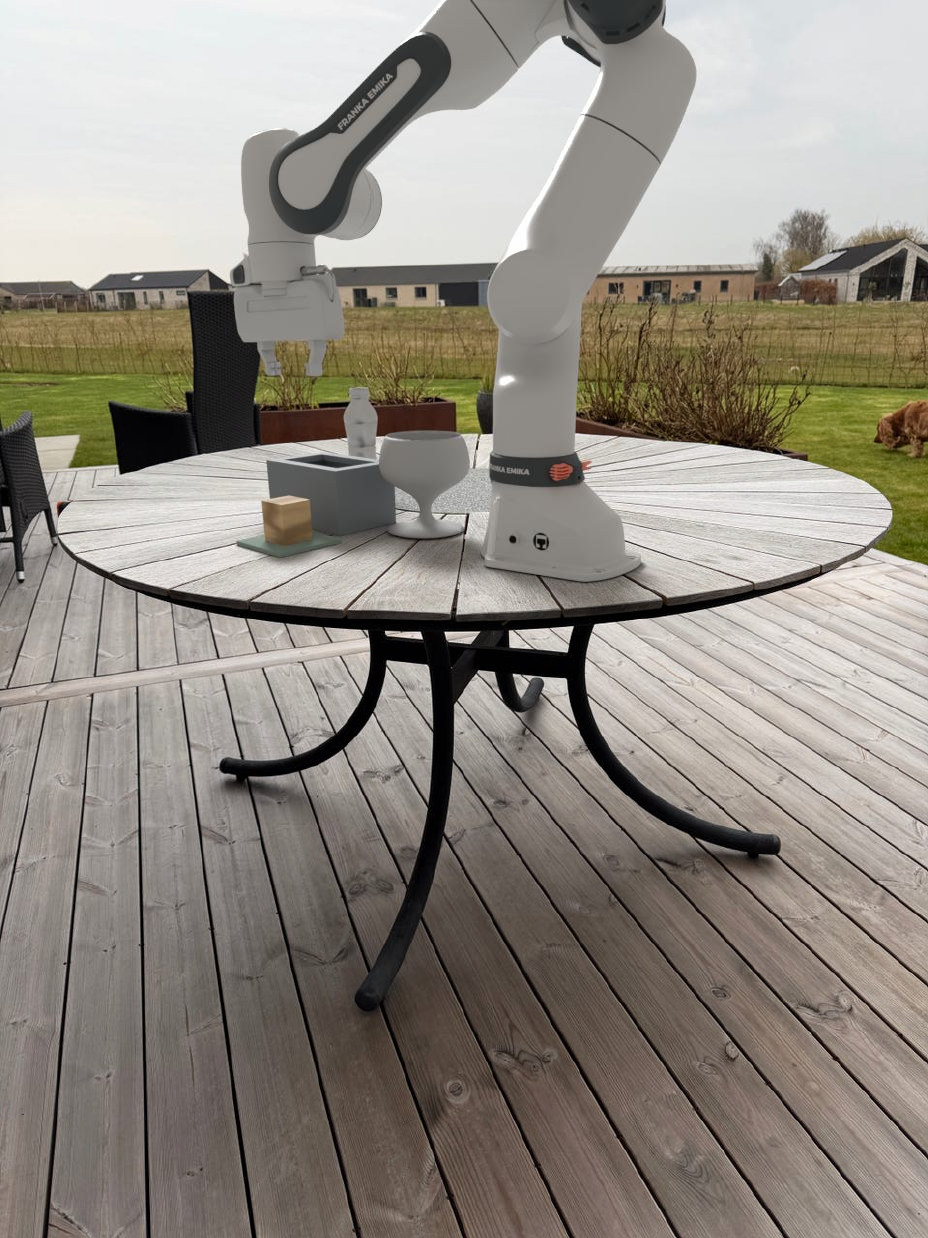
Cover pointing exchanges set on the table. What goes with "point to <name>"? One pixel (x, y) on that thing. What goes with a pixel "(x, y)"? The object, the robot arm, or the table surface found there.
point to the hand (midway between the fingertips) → (293, 375)
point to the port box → (335, 490)
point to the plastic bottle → (361, 424)
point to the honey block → (287, 520)
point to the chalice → (424, 475)
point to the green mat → (282, 551)
